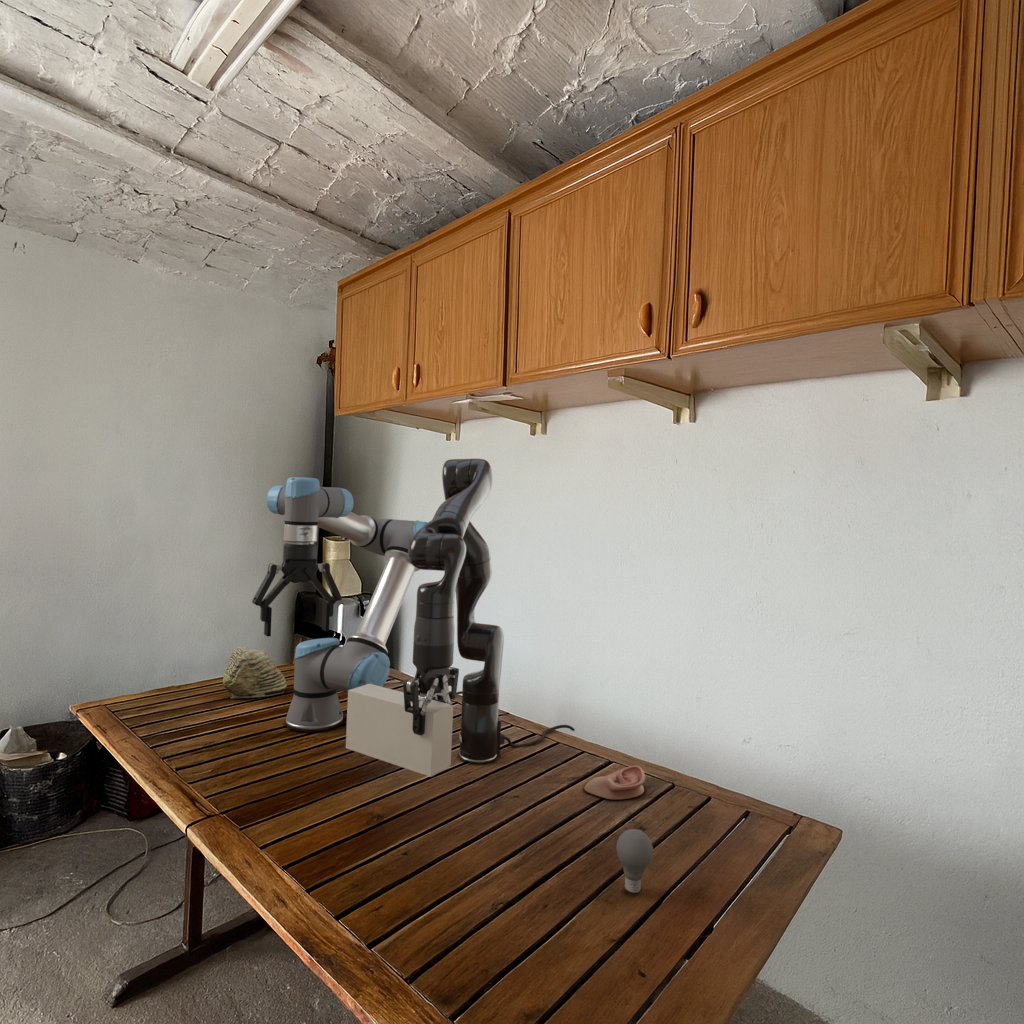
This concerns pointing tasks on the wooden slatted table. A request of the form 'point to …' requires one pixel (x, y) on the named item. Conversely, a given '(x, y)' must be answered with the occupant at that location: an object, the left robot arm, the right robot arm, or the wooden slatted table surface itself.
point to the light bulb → (634, 857)
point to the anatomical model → (618, 784)
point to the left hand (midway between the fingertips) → (297, 632)
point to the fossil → (252, 674)
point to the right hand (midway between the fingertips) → (430, 728)
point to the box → (398, 730)
